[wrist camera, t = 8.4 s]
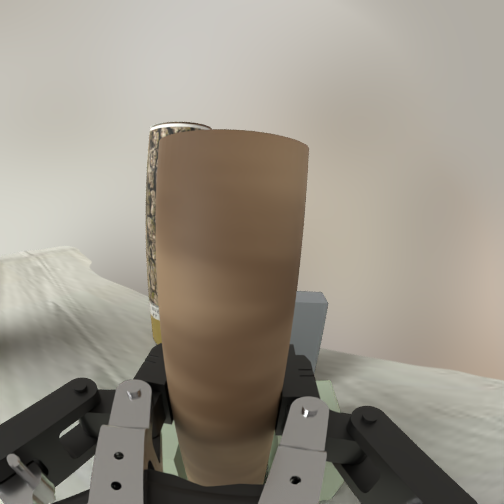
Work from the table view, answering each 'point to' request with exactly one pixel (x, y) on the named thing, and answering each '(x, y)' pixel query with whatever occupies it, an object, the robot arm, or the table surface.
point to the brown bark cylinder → (154, 137)
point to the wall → (308, 324)
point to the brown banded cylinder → (227, 291)
